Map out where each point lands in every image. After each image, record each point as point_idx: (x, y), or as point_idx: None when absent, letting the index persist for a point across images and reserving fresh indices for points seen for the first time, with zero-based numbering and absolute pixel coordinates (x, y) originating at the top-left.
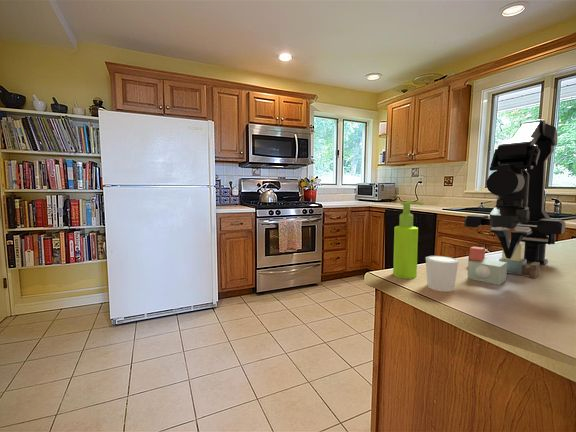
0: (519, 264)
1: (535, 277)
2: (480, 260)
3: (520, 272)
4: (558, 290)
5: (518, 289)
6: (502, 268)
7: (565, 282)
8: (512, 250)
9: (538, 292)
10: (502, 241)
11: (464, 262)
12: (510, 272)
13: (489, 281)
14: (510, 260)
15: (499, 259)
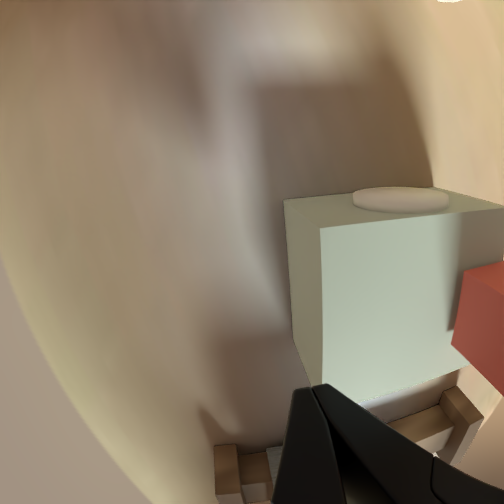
0: None
1: (215, 453)
2: (468, 271)
3: (272, 453)
4: (77, 353)
5: (178, 206)
6: (313, 293)
7: (131, 463)
8: (291, 453)
9: (98, 243)
10: (456, 494)
11: None
12: None
13: (337, 195)
14: None
15: None
